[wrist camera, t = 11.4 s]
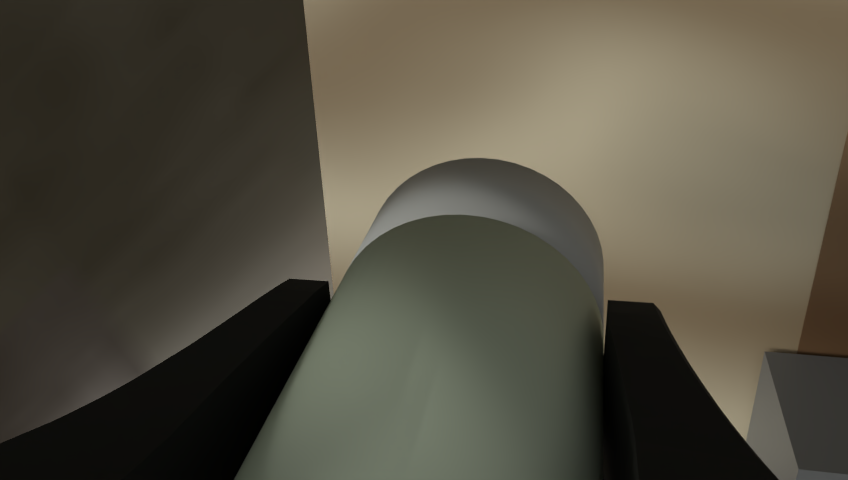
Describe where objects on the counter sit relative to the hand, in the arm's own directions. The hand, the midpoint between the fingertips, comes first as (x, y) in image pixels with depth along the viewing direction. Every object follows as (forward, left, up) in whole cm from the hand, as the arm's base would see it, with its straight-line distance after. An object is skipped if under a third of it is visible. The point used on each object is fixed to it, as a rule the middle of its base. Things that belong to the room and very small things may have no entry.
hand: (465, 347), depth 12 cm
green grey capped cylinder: (0, 0, -2) cm, 2 cm away
